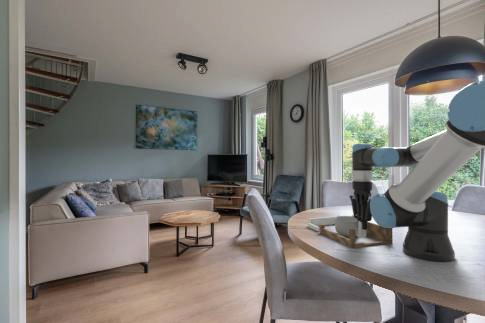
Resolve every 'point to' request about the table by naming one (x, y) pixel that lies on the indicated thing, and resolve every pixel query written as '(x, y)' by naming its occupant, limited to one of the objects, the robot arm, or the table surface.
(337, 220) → the teacup
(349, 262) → the table surface
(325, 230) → the wooden frame
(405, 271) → the table surface
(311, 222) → the holder
